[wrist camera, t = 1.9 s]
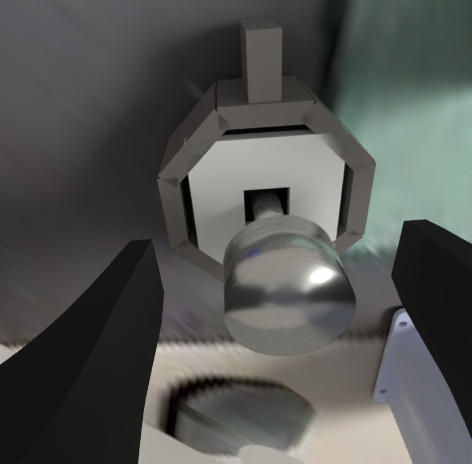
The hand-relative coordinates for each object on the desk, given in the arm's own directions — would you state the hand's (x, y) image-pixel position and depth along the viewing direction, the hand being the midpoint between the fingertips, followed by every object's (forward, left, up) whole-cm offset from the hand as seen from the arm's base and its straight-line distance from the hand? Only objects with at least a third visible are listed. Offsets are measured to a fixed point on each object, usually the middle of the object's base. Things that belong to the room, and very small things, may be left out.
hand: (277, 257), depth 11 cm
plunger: (0, 0, -4) cm, 4 cm away
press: (0, 0, -7) cm, 7 cm away
